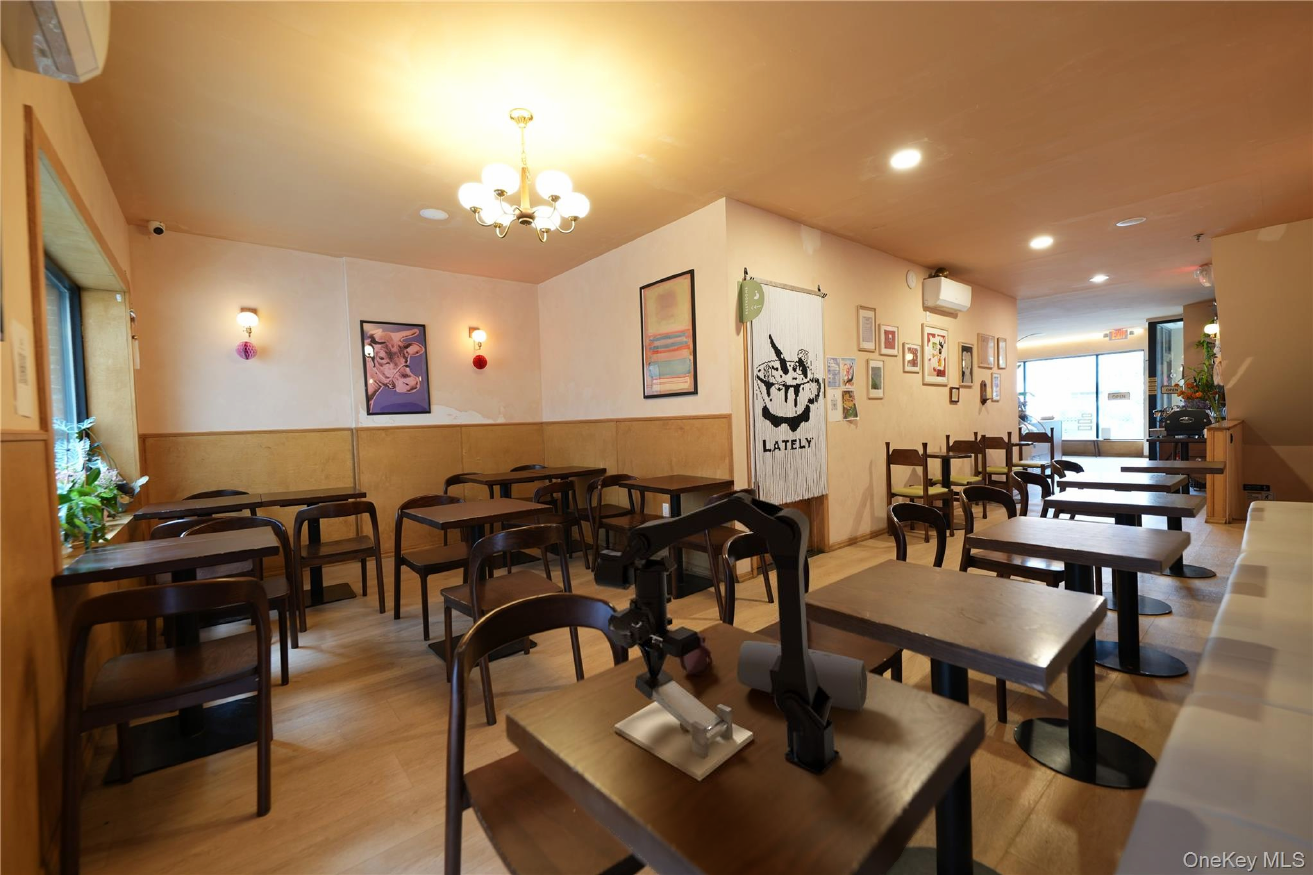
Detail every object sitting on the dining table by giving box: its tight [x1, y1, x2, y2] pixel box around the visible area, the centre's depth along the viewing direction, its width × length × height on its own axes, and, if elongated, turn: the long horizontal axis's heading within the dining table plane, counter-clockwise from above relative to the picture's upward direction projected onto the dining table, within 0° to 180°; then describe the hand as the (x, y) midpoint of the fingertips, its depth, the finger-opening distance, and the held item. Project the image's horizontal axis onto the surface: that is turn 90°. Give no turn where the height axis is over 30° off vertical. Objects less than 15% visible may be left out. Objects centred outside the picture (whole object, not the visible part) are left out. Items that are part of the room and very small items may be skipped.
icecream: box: [678, 634, 713, 676], centre depth 117 cm, size 7×7×15 cm
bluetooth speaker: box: [736, 640, 868, 711], centre depth 104 cm, size 23×9×10 cm, turn 60°
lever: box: [634, 667, 727, 745], centre depth 95 cm, size 17×6×2 cm, turn 45°
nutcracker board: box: [613, 700, 754, 782], centre depth 95 cm, size 20×14×6 cm
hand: (654, 676), depth 99 cm, fingers closed
